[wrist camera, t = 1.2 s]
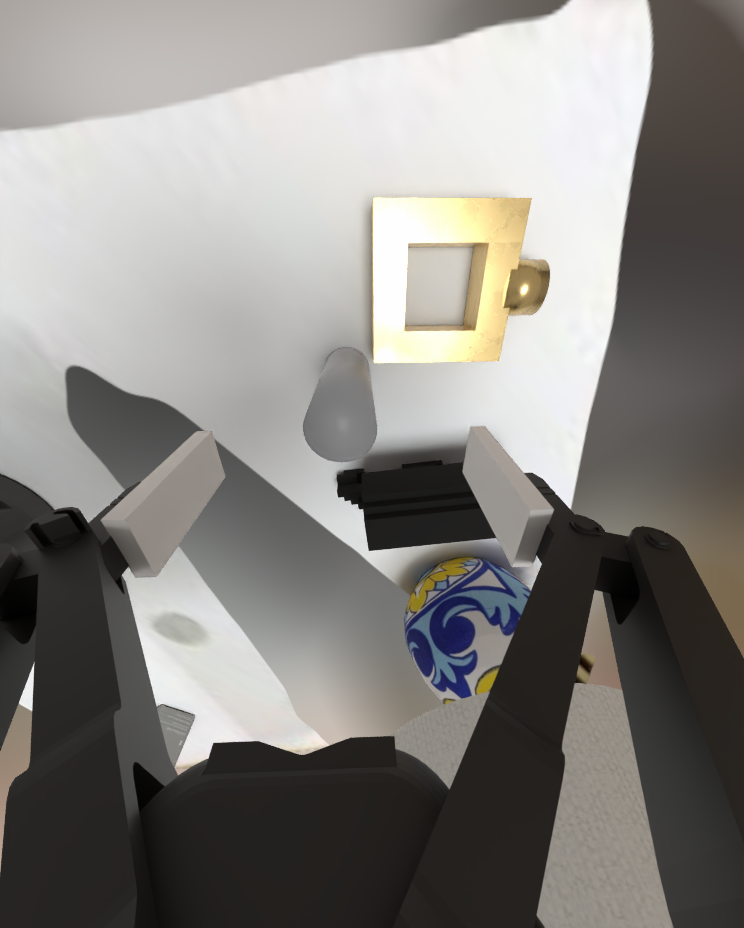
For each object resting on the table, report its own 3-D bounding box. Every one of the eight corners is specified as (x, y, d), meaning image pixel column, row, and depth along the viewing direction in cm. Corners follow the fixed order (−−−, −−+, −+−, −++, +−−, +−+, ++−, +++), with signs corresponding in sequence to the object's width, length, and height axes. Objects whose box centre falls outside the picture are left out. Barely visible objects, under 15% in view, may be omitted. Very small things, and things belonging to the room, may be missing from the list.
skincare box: (196, 714, 67) (155, 824, 54) (178, 724, 70) (134, 832, 56) (160, 702, 64) (107, 816, 50) (142, 713, 66) (86, 825, 53)
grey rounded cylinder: (326, 392, 31) (307, 462, 19) (322, 347, 29) (298, 395, 17) (369, 392, 32) (377, 461, 20) (369, 346, 29) (377, 393, 17)
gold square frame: (372, 354, 30) (374, 364, 26) (371, 207, 24) (373, 196, 21) (510, 352, 30) (529, 361, 27) (541, 207, 24) (571, 196, 21)
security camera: (334, 454, 35) (327, 510, 27) (495, 437, 35) (540, 488, 26) (343, 501, 39) (339, 565, 30) (489, 486, 38) (527, 545, 30)
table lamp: (449, 491, 39) (1165, 2152, 4) (584, 566, 47) (1192, 1336, 13) (341, 607, 50) (305, 1327, 16) (465, 651, 58) (619, 1181, 24)
